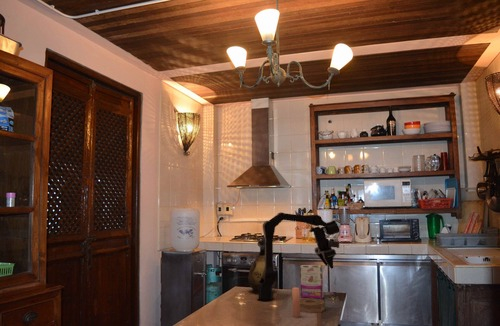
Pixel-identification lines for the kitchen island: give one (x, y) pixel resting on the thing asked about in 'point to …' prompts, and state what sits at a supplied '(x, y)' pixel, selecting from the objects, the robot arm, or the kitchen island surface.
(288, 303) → the kitchen island surface
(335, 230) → the robot arm
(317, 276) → the candy bar box
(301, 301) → the wooden bowl
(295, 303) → the dowel
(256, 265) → the ceramic jug
